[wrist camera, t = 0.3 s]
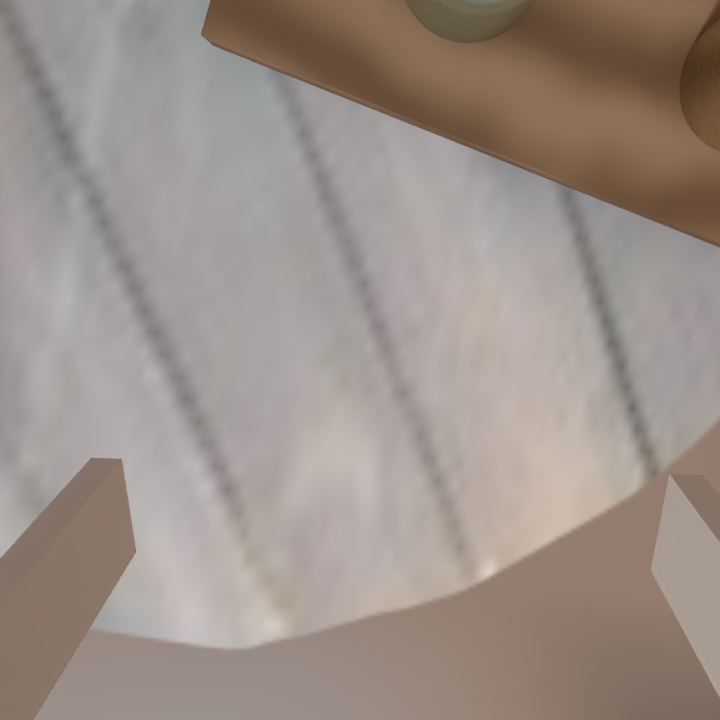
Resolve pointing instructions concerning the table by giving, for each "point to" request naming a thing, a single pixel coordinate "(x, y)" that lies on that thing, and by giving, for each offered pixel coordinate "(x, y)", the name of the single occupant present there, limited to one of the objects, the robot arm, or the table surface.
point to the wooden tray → (516, 88)
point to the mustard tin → (703, 86)
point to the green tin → (469, 17)
